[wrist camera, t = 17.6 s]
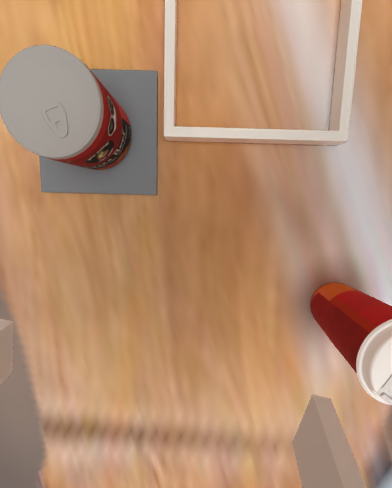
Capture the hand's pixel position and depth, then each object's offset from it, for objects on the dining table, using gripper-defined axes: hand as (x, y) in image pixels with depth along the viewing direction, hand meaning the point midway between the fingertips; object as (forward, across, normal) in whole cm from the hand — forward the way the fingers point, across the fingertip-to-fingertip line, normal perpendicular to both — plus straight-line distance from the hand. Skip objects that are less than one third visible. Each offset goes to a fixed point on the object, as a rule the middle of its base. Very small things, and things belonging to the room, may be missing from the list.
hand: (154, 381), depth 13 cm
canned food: (+23, -14, +9) cm, 28 cm away
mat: (+24, -14, +9) cm, 29 cm away
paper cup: (+24, +17, -5) cm, 30 cm away
